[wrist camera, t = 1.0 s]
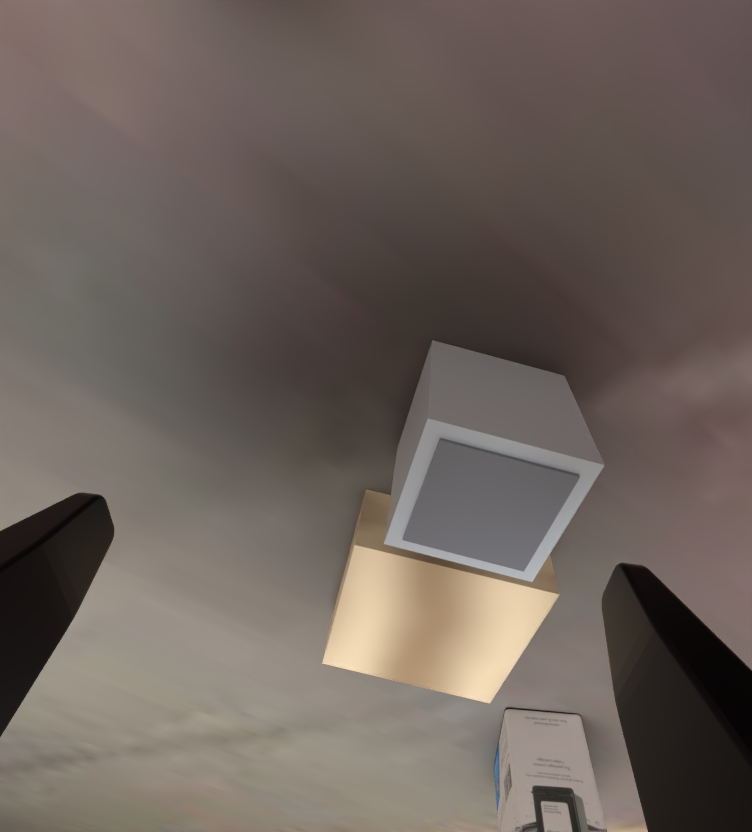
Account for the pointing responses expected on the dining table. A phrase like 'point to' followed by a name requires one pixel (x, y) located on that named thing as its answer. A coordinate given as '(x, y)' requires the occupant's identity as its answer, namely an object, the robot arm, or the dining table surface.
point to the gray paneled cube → (489, 463)
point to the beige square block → (431, 614)
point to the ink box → (545, 775)
